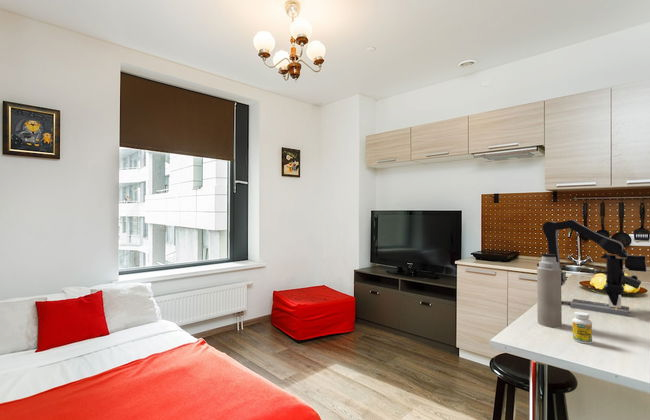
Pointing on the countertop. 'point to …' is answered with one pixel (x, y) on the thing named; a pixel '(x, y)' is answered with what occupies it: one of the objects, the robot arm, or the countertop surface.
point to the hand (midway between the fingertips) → (615, 304)
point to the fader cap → (617, 303)
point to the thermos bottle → (549, 292)
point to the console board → (599, 307)
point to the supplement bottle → (582, 328)
